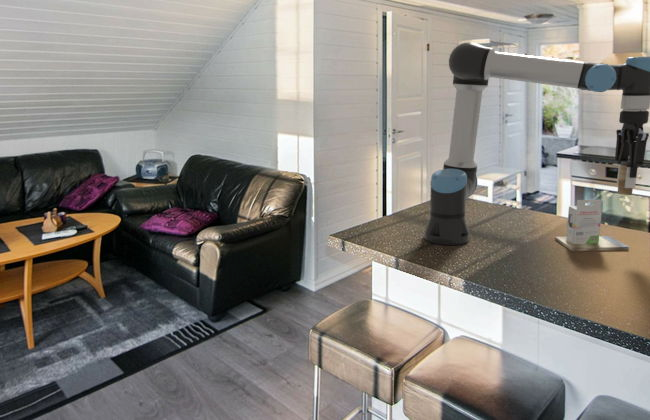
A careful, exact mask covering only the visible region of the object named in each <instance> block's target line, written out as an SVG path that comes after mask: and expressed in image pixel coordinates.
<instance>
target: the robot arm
mask: <svg viewBox="0 0 650 420" xmlns="http://www.w3.org/2000/svg"><path fill="white" fill-rule="evenodd" d="M448 66H449V67H448V68H449V69H450V71H451V73H452V75H453V76H452V77H453V78H452V85H453V86H454V88H455V90H456V93H455V99H454V101H455V103H454V107H453V108H454V110H453V118H452V126H451V135H450V146H449V151H448V152H449V154H448V158H447V159H446V160H444V161H443V166H442V167H443V168H442V169H437V170H436V171H434V172H433V173H432V174H431V177H430V178H431V179H430V182H429V183H430V205H429V219H428V221H427V223H426V227H425V230H424V234H423V238H424V240H425V241H427V242H429V243H431V244H435V245H442V246H458V245H463V244H466V243H468V242H469V241H470V230H469V227H468V223H467V221H466V207H467V206H466V204H467V199H469V198H470V197H472V195H473V194H474V193H475V192H476V189H477V187H478V176H477V173H478V172H477V171H478V164H477V163H476V162H475V160H474V158H475V151H476V143H477V137H478V136H477V134H478V127H479V120H480V114H481V113H480V110H481V105H482V98H483V91H484V90H485V89H487V88H488V86H489V79H490V78H496V79H502V80H503V79H504V80H509V81H510V80H511V81H517V82H518V81H519V82H526V83H533V84H539V85H549V86H554V87H555V86H556V87H563V88H570V89H578V90H581V91H590V92H591V91H592V92H595V93H604V92H606V91H620V90H622V93H621V101H620V109H621V111H620V113H619V118H618V120H619V121H618V122H619V124H622V127H621V129H617V130H616V144H615V155H614V156H615V157H614V161H616V162H617V164H618V170H617V171H618V172H617V176H616V177H617V178H616V186H618V183H619V174H620V166H621V161H629V165H627V172H626V180H625V188H633V189H635V188H636V181H637V176H638V174H637V173H638V168H639V167H643V165H644V161H645V156H646V155H645V154H646V148H647V142H648V139H649V137H650V136H649V135H650V134H649V133H648V132H647V133H646V132H644V125H645V124H648V122H649V117H650V115H649V114H650V112H649V111H648V109H650V56H630V57H627V58H626V59H625V62H624V63H623V64H622V63H619V64H608V63H596V62H587V61H586V62H585V61H579V60H570V59H562V58H560V59H559V58H552V57H544V56H537V55H536V56H534V55H525V54H518V53H509V52H500V51H496V50H495V48H494V47H487V46H485V45H483V44H481V43H474V42H470V41H469V42H464V43H463V42H462V43H460V44H458V45H457V46H456V47H454V48H453V50H452V51H451V53H450V54H449V58H448Z"/></svg>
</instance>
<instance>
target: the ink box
mask: <svg viewBox="0 0 650 420" xmlns="http://www.w3.org/2000/svg"><path fill="white" fill-rule="evenodd" d="M589 203H591V204H590V205H588V204H589ZM586 204H587V205H586ZM602 207H603V199H602V198H600V199H599V198H598V199H577V201H576V205H569V206H568V214H567V224H566V225H567V226H566V235H565V237H566V241H568V242H570V243H572V244H598V243H599V236H600V232H601V222H602V212H603V209H602Z"/></svg>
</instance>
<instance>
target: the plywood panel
mask: <svg viewBox="0 0 650 420" xmlns="http://www.w3.org/2000/svg"><path fill="white" fill-rule="evenodd" d="M554 240H555V241H556V242H558V243H559V244H560V245H562V246H563V247H565V248H566V249H567V250H569V251H570V252H584V251H585V252H587V251H591V252H592V251H593V252H594V251H597V252H598V251H629V248H630V246H629V245H627V244H624V243H623V242H621V241H620V240H617V239H616V238H614V237H613V236H610V235H599V243H598V244H572V243H570V242H568V241H566V236H555V238H554Z"/></svg>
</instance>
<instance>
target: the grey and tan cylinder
mask: <svg viewBox="0 0 650 420" xmlns="http://www.w3.org/2000/svg"><path fill="white" fill-rule="evenodd" d="M627 165H629V160H628V161H621V166H620V174H619V183H618V185H617V195H618V194H619V195H626V196H627V195H629V196H630V195H633V189H634V188H625V180H626V172H627Z"/></svg>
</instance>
